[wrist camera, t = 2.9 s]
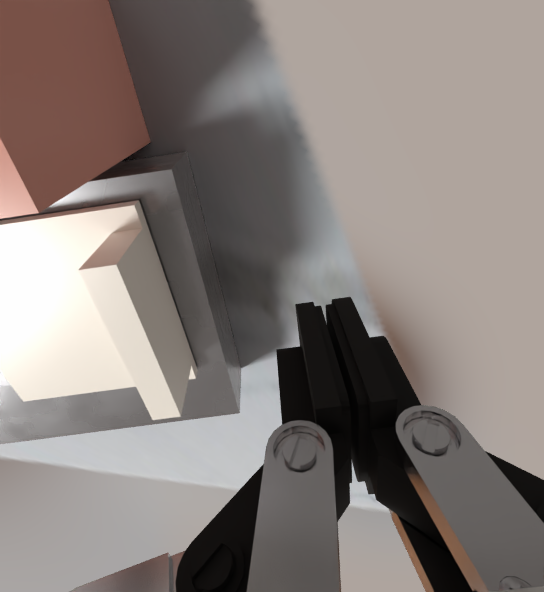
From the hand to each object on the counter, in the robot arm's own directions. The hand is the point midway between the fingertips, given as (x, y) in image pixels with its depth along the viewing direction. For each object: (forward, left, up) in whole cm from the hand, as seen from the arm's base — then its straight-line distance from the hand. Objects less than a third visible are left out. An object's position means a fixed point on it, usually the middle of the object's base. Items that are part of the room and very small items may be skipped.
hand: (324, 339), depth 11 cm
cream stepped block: (-1, -9, -3) cm, 9 cm away
